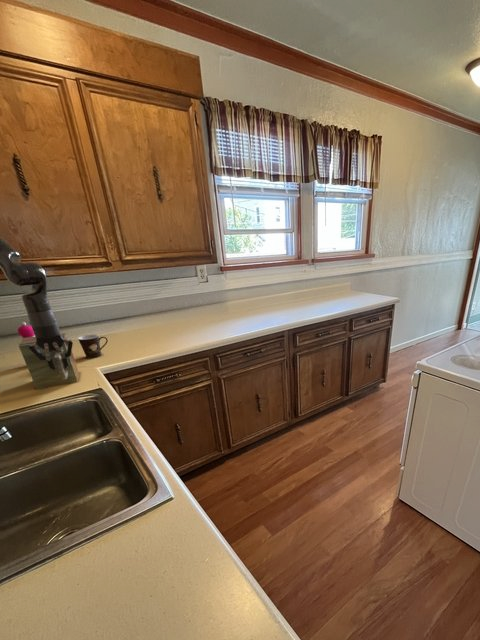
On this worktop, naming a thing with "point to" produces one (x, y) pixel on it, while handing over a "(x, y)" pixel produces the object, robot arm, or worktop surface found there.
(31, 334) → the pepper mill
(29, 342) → the cupboard
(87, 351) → the coffee mug
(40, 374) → the cupboard door
